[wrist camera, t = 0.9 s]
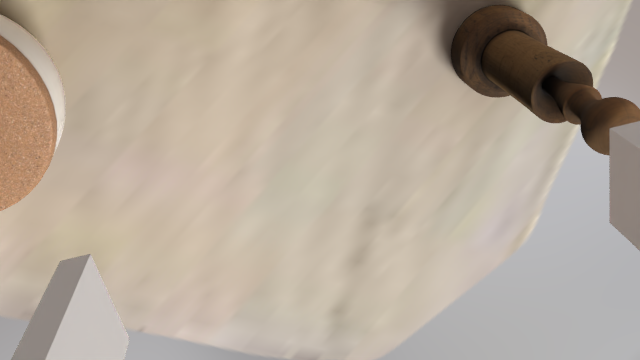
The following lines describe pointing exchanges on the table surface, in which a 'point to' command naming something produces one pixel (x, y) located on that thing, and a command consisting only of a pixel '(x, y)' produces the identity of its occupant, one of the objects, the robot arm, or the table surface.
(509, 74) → the brown pedestal figurine
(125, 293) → the table surface
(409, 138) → the table surface
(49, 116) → the lidded bowl
